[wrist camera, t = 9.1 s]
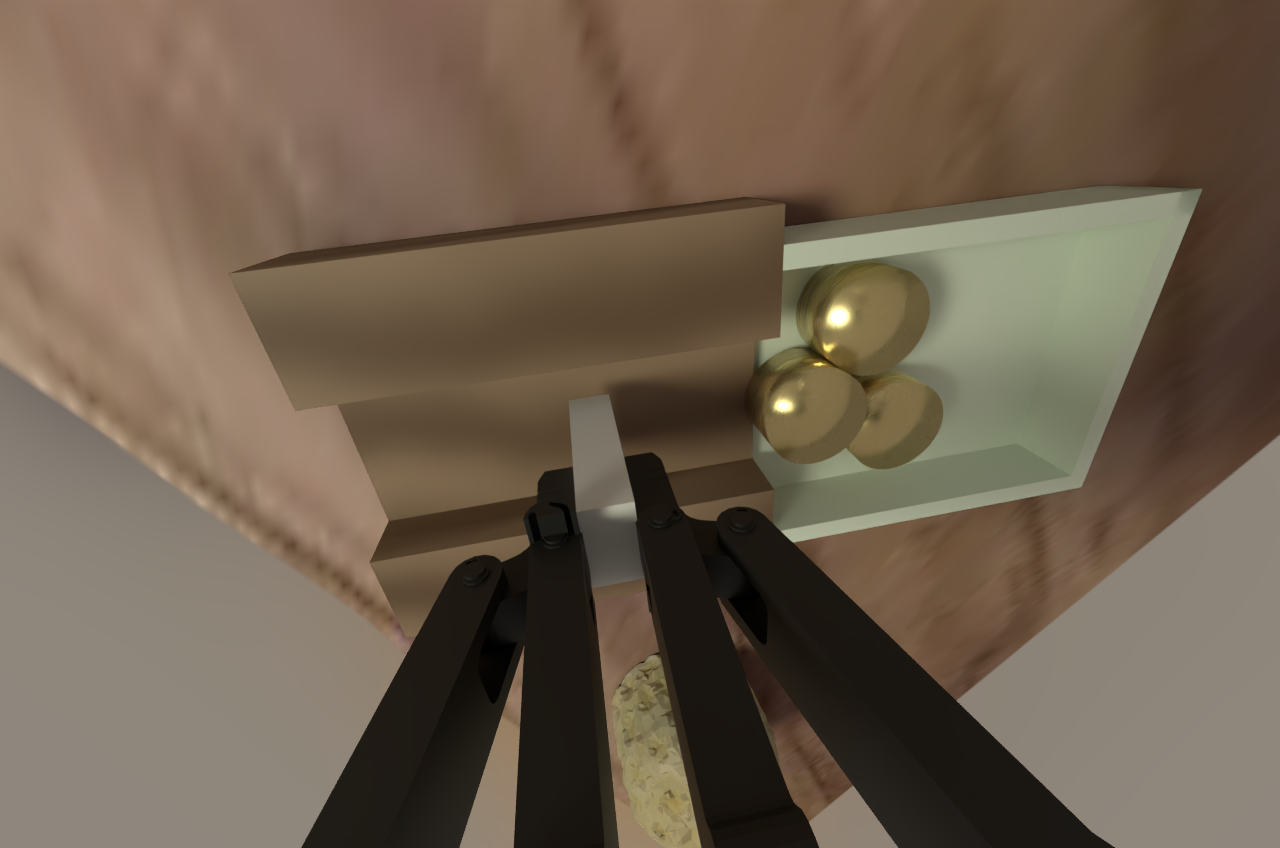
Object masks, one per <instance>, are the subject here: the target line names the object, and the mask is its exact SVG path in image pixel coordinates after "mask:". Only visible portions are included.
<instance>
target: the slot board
mask: <svg viewBox="0 0 1280 848" xmlns="http://www.w3.org/2000/svg"><path fill="white" fill-rule="evenodd" d="M784 228H785V203H779V202H773V201H767V200H761V199H755V198H749V197H742V198H734V199H726V200H718V201H709V202H701V203H693V204H685V205H677V206H669V207H661V208H653V209H645V210H637V211H629V212H621V213H613V214H605V215H596V216H588V217H580V218H572V219H564V220H556V221H548V222H540V223H532V224H524V225H516V226H508V227H500V228H491V229H483V230H475V231H467V232H459V233H451V234H443V235H435V236H427V237H419V238H411V239H403V240H395V241H387V242H378V243H370V244H362V245H354V246H346V247H338V248H330V249H322V250H314V251H306V252H298V253H290V254H286V255H283V256H280V257H277V258H274V259H271V260H268V261H265V262H262V263H259V264H256V265H253V266H250V267H247V268H244V269H241V270H238V271H235V272H232V273H229V276H230V279H231V281H232V283H233V285H234V287H235V289H236V291H237V293H238V295H239V297H240V299H241V301H242V303H243V305H244V307H245V309H246V311H247V313H248V315H249V317H250V319H251V321H252V323H253V326H254V328H255V330H256V332H257V334H258V336H259V338H260V340H261V342H262V344H263V346H264V348H265V350H266V352H267V354H268V356H269V358H270V360H271V362H272V364H273V366H274V368H275V370H276V373H277V375H278V377H279V379H280V381H281V383H282V385H283V387H284V389H285V391H286V393H287V395H288V397H289V399H290V401H291V403H292V405H293V407H294V409H295V411H298V410H304V409H311V408H318V407H324V406H331V405H337V404H338V407H339V409H340V411H341V413H342V416H343V418H344V420H345V423H346V425H347V427H348V429H349V432H350V434H351V436H352V438H353V441H354V443H355V445H356V448H357V450H358V452H359V454H360V457H361V459H362V461H363V463H364V466H365V468H366V470H367V472H368V475H369V477H370V479H371V482H372V484H373V486H374V488H375V491H376V493H377V495H378V497H379V500H380V502H381V504H382V507H383V509H384V511H385V513H386V516H387V518H388V520H389V522H388V524H387V526H386V528H385V531H384V533H383V535H382V537H381V539H380V541H379V544H378V546H377V548H376V550H375V552H374V555H373V557H372V559H371V561H370V565H371V567H372V569H373V571H374V573H375V575H376V577H377V579H378V581H379V583H380V585H381V587H382V589H383V591H384V593H385V595H386V597H387V599H388V601H389V603H390V605H391V607H392V609H393V612H394V614H395V616H396V618H397V620H398V622H399V624H400V626H401V628H402V630H403V632H404V634H405V636H406V637H412V636H417V634H418V633H419V631H420V629H421V627H422V625H423V623H424V622H425V620H426V618H427V616H428V614H429V612H430V611H431V609H432V607H433V605H434V603H435V601H436V600H437V598H438V596H439V594H440V592H441V590H442V589H443V587H444V585H445V583H446V581H447V579H448V577H449V576H450V574H451V573H452V571H453V570H454V569H455V568H456V567H457V566H458V565H459V564H461V563H462V562H463V561H465V560H467V559H469V558H472V557H474V556H479V555H491V556H495V557H496V558H498V559H499V560H500V561H501V562H503V561H506V560H508V559H510V558H513V557H515V556H516V555H518V554H520V553H522V552H523V551H524V550H526V549H527V548H528V547H529V546H530V542H529V539H528V535H527V532H526V528H525V525H524V521H523V518H524V516H525V513H526V512H527V511H528V510H529V509H530V508H531V507H532V506H533V505H535V504H537V494H538V493H537V488H538V481H539V479H540V478H541V476H542V475H543V473H544V472H545V471H550V470H556V469H562V468H568V467H573V459H572V444H571V429H570V415H569V400H575V399H581V398H588V397H594V396H600V395H607V394H609V397H610V401H611V406H612V410H613V414H614V418H615V422H616V426H617V431H618V435H619V439H620V443H621V447H622V451H623V456H624V457H626V456H631V455H637V454H643V453H649V452H653V453H654V454H655V455H657V456H658V457H659V458H660V459H661V460H662V462H663V465H664V468H665V471H666V473H667V476H668V479H669V482H670V484H671V487H672V490H673V493H674V495H675V498H676V501H677V504H678V506H679V508H681V509H682V510H683V511H684V513H685V514H686V515H688V516H689V517H692V518H695V519H699V520H709V521H717V517H718V516H719V515H720V513H721V512H723V511H725V510H727V509H728V508H733V507H737V506H738V507H749V508H753V509H756V510H758V511H759V512H761V513H762V514H764V515H765V516H766V517H767V518H768V519H769V520H770V521H771V522H772V523H773V513H774V489H773V487H772V486H771V484H770V483H769V481H768V480H767V478H766V477H765V475H764V474H763V472H762V471H761V470H760V468H759V467H758V465H757V464H756V462H755V461H754V459H753V423H752V422H751V420H750V419H749V417H748V415H747V412H746V408H745V394H746V390H747V386H748V384H749V382H750V379H751V378H752V376H753V374H754V341H760V340H767V339H773V338H780V331H781V305H782V279H783V254H784ZM643 591H646V583H645V578H644V579H639V580H633V581H628V582H623V583H618V584H613V585H608V586H603V587H597V588H592V593H593V598H594V601H597V600H602V599H607V598H612V597H617V596H622V595H627V594H633V593H638V592H643Z"/></svg>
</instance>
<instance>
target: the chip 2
mask: <svg viewBox="0 0 1280 848" xmlns="http://www.w3.org/2000/svg"><path fill="white" fill-rule="evenodd" d="M745 408H746V412H747V415H748V417H749V419H750V420H751V422H752V423H753V424H754V425H755V427H756V428H757V429H758V430H759V432H760V433H761V434H762V435H763V436H764V438H765V439H766V440H767V441H768V443H769V444H770V445H771V446H772V448H773V449H774V450H775V451H776V452H777V453H778V455H780V456H781V457H782V458H784V459H786V460H787V461H790V462H793V463H797V464H813V463H818V462H821V461H824V460H827V459H829V458H831V457H833V456H835V455H836V454H838V453H840V452H841V451H842V450H843V449H845V448H846V447H847V446H848V445H849V444H850V443H851V442H852V441H853V440H854V439H855V437H856V436H857V434H858V433H859V431H860V429H861V428H862V425H863V423H864V420H865V417H866V412H867V398H866V394H865V391H864V389H863V387H862V386H861V384H860V383H859V382H858V381H857V380H856V379H855V378H854V377H852V376H851V375H849V374H848V373H846V372H845V371H843V370H842V369H840V368H839V367H837V366H836V365H834V364H833V363H832V362H830V361H829V360H827V359H826V358H824V357H823V356H821V355H820V354H818V353H816V352H814V351H812V350H808V349H790V350H786V351H783V352H780V353H778V354H776V355H774V356H772V357H771V358H769V359H768V360H766V361H765V362H764V363H763V364H762V365H761V366H760V367H759V368H758V369H757V370H756V372H755V373H754V374H753V376H752V378H751V379H750V382H749V384H748V386H747V390H746V394H745Z"/></svg>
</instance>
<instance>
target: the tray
mask: <svg viewBox="0 0 1280 848" xmlns="http://www.w3.org/2000/svg"><path fill="white" fill-rule="evenodd" d="M1201 191H1202V189H1193V188H1166V187H1139V186H1111V185H1100V186H1093V187H1085V188H1077V189H1070V190H1062V191H1054V192H1047V193H1039V194H1031V195H1024V196H1016V197H1008V198H1001V199H993V200H985V201H978V202H970V203H962V204H955V205H947V206H939V207H932V208H924V209H916V210H909V211H901V212H893V213H886V214H878V215H870V216H863V217H855V218H847V219H840V220H832V221H824V222H817V223H809V224H801V225H794V226H786V227H785V228H784V254H783V279H782V305H781V331H780V338H773V339H767V340H760V341H754V373H755V372H756V370H757V369H758V368H759V367H760V366H761V365H762V364H763V363H764V362H765V361H766V360H768V359H769V358H771V357H772V356H774V355H776V354H778V353H780V352H783V351H786V350H790V349H808V350H812V351H814V352H816V351H815V350H813V349H812V348H810V347H809V346H808V345H807V344H806V343H805V342H804V341H803V339H802V338H801V336H800V334H799V332H798V329H797V324H796V309H797V304H798V300H799V297H800V295H801V292H802V290H803V289H804V287H805V285H806V284H807V282H808V281H809V280H810V278H811V277H812V276H813V275H814V274H815V273H816V272H817V271H818V270H819V269H821V268H822V267H823V266H825V265H828V264H836V263H843V262H850V261H857V260H864V259H871V260H875V261H878V262H881V263H885V264H888V265H891V266H895V267H898V268H902V269H905V270H908V271H910V272H912V273H914V274H915V275H916V276H917V277H919V278H920V280H921V281H922V282H923V283H924V285H925V287H926V289H927V291H928V295H929V299H930V314H929V320H928V323H927V326H926V329H925V331H924V334H923V335H922V337H921V339H920V341H919V342H918V344H917V345H916V347H915V348H914V349H913V350H912V352H911V353H910V354H909V355H908V356H907V357H906V358H904V359H903V360H902V361H901V362H900V363H898V364H897V365H895V366H894V367H896V368H898V369H899V370H901V371H903V372H904V373H906V374H908V375H909V376H911V377H913V378H915V379H916V380H918V381H920V382H921V383H923V384H925V385H926V386H928V387H930V388H932V389H933V390H934V391H935V392H936V393H937V394H938V395H939V397H940V399H941V401H942V404H943V420H942V424H941V427H940V429H939V432H938V434H937V435H936V437H935V439H934V440H933V441H932V443H931V444H930V445H929V446H928V448H927V449H926V450H925V451H924V452H922V453H921V454H920V455H919V456H917V457H916V458H915V459H913V460H911V461H910V462H908V463H906V464H904V465H901V466H898V467H895V468H891V469H873V468H869V467H867V466H865V465H863V464H862V463H861V462H860V461H859V460H857V459H856V458H855V457H854V456H853V455H852V454H851V453H850V452H849V451H848V450H847V449H846V448H845V449H843V450H842V451H841V452H840V453H838V454H836V455H835V456H833V457H831V458H829V459H827V460H824V461H821V462H818V463H813V464H797V463H793V462H790V461H787V460H786V459H784V458H782V457H781V456H780V455H778V453H777V452H776V451H775V450H774V449H773V448H772V446H771V445H770V444H769V443H768V441H767V440H766V439H765V438H764V436H763V435H762V434H761V433H760V432H759V430H758V429H757V428H756V427H755V425H754V424H753V459H754V461H755V462H756V464H757V465H758V467H759V468H760V470H761V471H762V472H763V474H764V475H765V477H766V478H767V480H768V481H769V483H770V484H771V486H772V487H773V489H774V513H773V524H774V525H775V526H776V527H777V528H778V529H779V530H780V531H781V532H782V533H783V534H784V535H785V536H786V537H787V538H788V539H790V540H791V541H792V542H797V541H803V540H808V539H813V538H818V537H824V536H829V535H834V534H839V533H845V532H850V531H855V530H860V529H866V528H871V527H876V526H881V525H886V524H892V523H897V522H902V521H907V520H913V519H918V518H923V517H928V516H934V515H939V514H944V513H949V512H955V511H960V510H965V509H970V508H976V507H981V506H986V505H991V504H997V503H1002V502H1007V501H1012V500H1017V499H1023V498H1028V497H1033V496H1038V495H1044V494H1049V493H1054V492H1059V491H1065V490H1070V489H1075V488H1080V487H1082V485H1083V482H1084V480H1085V478H1086V475H1087V473H1088V470H1089V468H1090V465H1091V463H1092V460H1093V458H1094V455H1095V453H1096V450H1097V448H1098V445H1099V443H1100V441H1101V438H1102V436H1103V433H1104V431H1105V428H1106V426H1107V423H1108V421H1109V418H1110V416H1111V413H1112V411H1113V408H1114V406H1115V404H1116V401H1117V399H1118V396H1119V394H1120V391H1121V389H1122V386H1123V384H1124V381H1125V379H1126V376H1127V374H1128V371H1129V369H1130V367H1131V364H1132V362H1133V359H1134V357H1135V354H1136V352H1137V349H1138V347H1139V344H1140V342H1141V339H1142V337H1143V334H1144V332H1145V330H1146V327H1147V325H1148V322H1149V320H1150V317H1151V315H1152V312H1153V310H1154V307H1155V305H1156V302H1157V300H1158V297H1159V295H1160V293H1161V290H1162V288H1163V285H1164V283H1165V280H1166V278H1167V275H1168V273H1169V270H1170V268H1171V265H1172V263H1173V261H1174V258H1175V256H1176V253H1177V251H1178V248H1179V246H1180V243H1181V241H1182V238H1183V236H1184V233H1185V231H1186V228H1187V226H1188V224H1189V221H1190V219H1191V216H1192V214H1193V211H1194V209H1195V206H1196V204H1197V201H1198V199H1199V196H1200V194H1201ZM816 353H817V352H816ZM818 354H819V353H818ZM821 356H822V355H821ZM824 358H825V357H824Z"/></svg>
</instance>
